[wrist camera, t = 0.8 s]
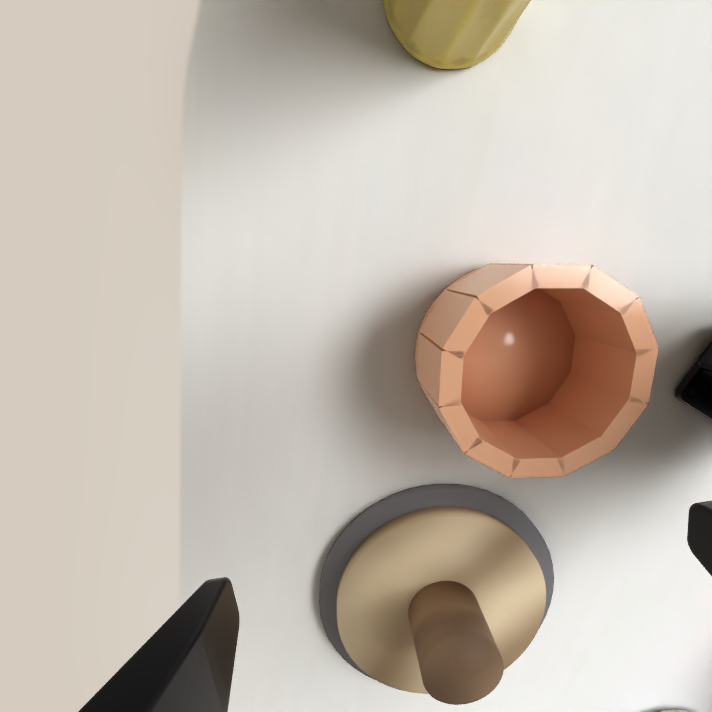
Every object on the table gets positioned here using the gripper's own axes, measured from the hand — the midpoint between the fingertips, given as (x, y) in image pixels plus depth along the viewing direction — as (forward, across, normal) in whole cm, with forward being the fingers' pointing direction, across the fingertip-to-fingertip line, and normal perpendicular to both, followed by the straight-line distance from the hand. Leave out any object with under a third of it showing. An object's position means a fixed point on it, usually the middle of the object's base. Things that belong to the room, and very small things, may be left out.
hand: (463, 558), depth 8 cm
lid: (+13, -2, +14) cm, 19 cm away
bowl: (+14, -6, 0) cm, 15 cm away
